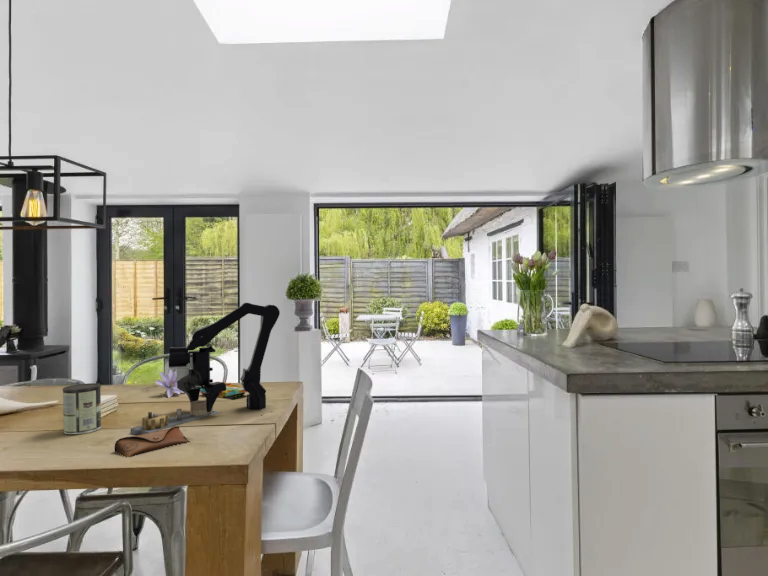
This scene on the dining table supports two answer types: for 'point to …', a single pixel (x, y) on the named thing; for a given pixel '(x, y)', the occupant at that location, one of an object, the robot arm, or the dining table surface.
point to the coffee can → (82, 408)
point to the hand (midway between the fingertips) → (201, 410)
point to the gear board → (171, 423)
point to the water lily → (169, 383)
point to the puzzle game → (229, 391)
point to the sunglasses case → (149, 442)
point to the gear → (199, 408)
